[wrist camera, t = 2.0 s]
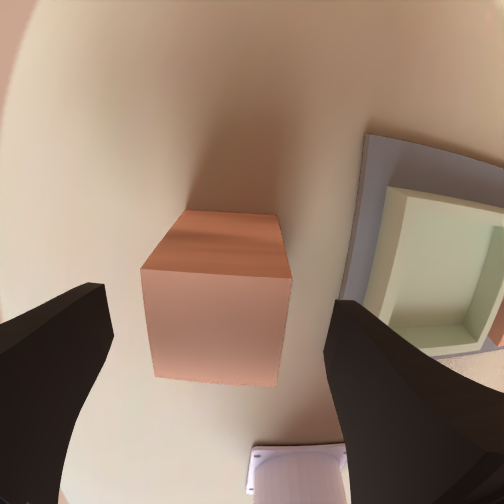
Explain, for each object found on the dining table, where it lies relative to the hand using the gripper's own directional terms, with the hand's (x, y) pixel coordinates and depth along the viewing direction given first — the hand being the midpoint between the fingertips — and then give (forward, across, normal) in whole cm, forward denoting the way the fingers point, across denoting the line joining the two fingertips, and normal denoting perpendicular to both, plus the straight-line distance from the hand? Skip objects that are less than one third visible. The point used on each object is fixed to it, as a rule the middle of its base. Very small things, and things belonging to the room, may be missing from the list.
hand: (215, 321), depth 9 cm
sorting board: (+5, -16, 0) cm, 16 cm away
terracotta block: (+5, 0, 0) cm, 5 cm away
